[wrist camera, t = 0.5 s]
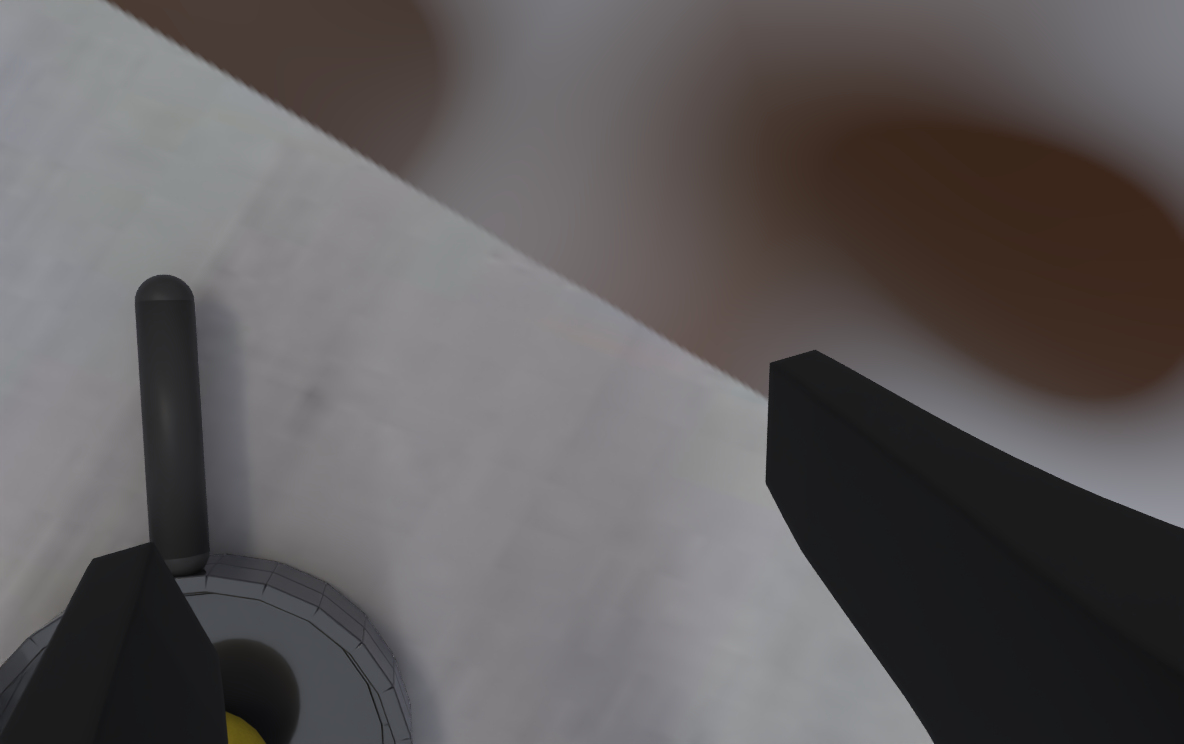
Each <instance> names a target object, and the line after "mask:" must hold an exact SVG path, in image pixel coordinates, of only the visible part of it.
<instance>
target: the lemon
mask: <svg viewBox="0 0 1184 744" xmlns="http://www.w3.org/2000/svg"><path fill="white" fill-rule="evenodd" d="M225 712H226V711H225ZM226 723H227V734H228V744H266V743H265V741H264V740H263V739H262V737H261V736H260V734H259V733H258V732H257V730H256V729H254V728H253V727H252V726H251V725H249V724H248V723H247V722H246V721H244V720H243V719H242V718H240V717H237V716H235V715H233V714H230V713H228V712H226Z"/></svg>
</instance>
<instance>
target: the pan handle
mask: <svg viewBox="0 0 1184 744" xmlns="http://www.w3.org/2000/svg"><path fill="white" fill-rule="evenodd" d="M135 313H136V329H137V345H138V361H139V377H140V393H141V409H142V425H143V441H144V457H145V473H146V489H147V505H148V521H149V537H150V542H154V544H155V546H156V547H157V549H158V551H159V553H160V554H161V556H162V558H163V559H164V561H165V563H166V565H167V566H168V568H169V570H170V572H171V573H172V575H173V576H181V575H187V574H192V573H196V572H199V571H201V570H203V569H204V567H205V566H206V564H207V562H208V559H209V554H210V548H209V531H208V515H207V499H206V482H205V466H204V450H203V433H202V417H201V400H200V384H199V368H198V351H197V335H196V319H195V302H194V296H193V293H192V291H191V289H190V288H189V286H188V285H187V284H186V283H185V282H184V281H182V280H181V279H179V278H177V277H175V276H171V275H157V276H153V277H151V278H149V279H147V280H146V281H144V282H143V283H142V284H141V286H140V287H139V288H138V290H137V292H136V296H135Z"/></svg>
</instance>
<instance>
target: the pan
mask: <svg viewBox="0 0 1184 744" xmlns="http://www.w3.org/2000/svg"><path fill="white" fill-rule="evenodd" d="M173 577H174V579H175V580H176V582H177V584H178V585H179V587H180V589H181V591H182V592H183V594H184V596H185V598H186V599H187V601H188V603H189V604H190V606H191V608H192V610H193V611H194V613H195V615H196V617H197V618H198V620H199V622H200V624H201V625H202V627H203V629H204V630H205V632H206V634H207V636H208V637H209V639H210V641H211V643H212V644H213V646H214V648H215V649H216V651H217V653H218V655H219V659H220V668H221V676H222V685H223V694H224V702H225V711H226V712H228V713H230V714H233V715H235V716H237V717H240V718H242V719H243V720H244V721H246V722H247V723H248V724H249V725H251V726H252V727H253V728H254V729H256V730H257V732H258V733H259V734H260V736H261V737H262V739H263V740H264V741H265V743H266V744H413V742H412V725H411V707H410V701H409V697H408V694H407V691H406V688H405V686H404V683H403V680H402V677H401V674H400V671H399V668H398V665H397V662H396V659H395V658H394V657H393V653H392V652H391V650H390V649H389V647H388V646H387V645H386V643H385V642H384V640H383V639H382V637H381V636H380V635H379V633H378V632H377V630H376V629H375V627H374V626H373V625H372V623H371V622H370V620H369V619H368V617H366V616H365V614H364V613H363V612H362V611H361V610H359V609H358V608H357V607H356V606H354V605H353V604H352V603H351V602H349V601H348V600H347V599H346V598H345V597H343V596H342V595H341V594H340V593H338V592H337V591H336V590H335V589H334V588H332V587H331V586H330V585H329V584H326V583H325V582H323V581H321V580H319V579H316V578H314V577H312V576H310V575H307V574H305V573H303V572H300V571H298V570H296V569H294V568H291V567H289V566H287V565H285V564H282V563H278V562H276V561H270V560H263V559H257V558H251V557H244V556H238V555H232V554H214V555H209V559H208V562H207V564H206V566H205V567H204V569H203V570H201V571H199V572H196V573H192V574H187V575H181V576H173ZM65 610H66V609H65ZM65 610H64V611H63V612H61V613H60V614H59V615H57V616H56V617H55V618H53V619H52V620H51V621H49V622H48V623H47V624H45V625H44V626H43V627H41V628H40V629H39V630H37V631H36V632H35V633H33V634H32V635H31V636H30V637H28V638H27V639H26V640H25V641H24V642H23V643H22V644H21V646H20V647H19V648H18V649H17V650H16V651H15V652H14V653H13V654H12V655H11V656H10V657H9V658H8V659H7V660H6V662H5V663H4V664H3V665H2V666H1V667H0V732H1V730H2V728H3V727H4V725H5V723H6V721H7V719H8V718H9V716H10V714H11V712H12V710H13V709H14V707H15V705H16V703H17V701H18V700H19V698H20V696H21V694H22V692H23V690H24V689H25V687H26V685H27V683H28V681H29V679H30V677H31V676H32V674H33V672H34V670H35V668H36V666H37V664H38V662H39V660H40V658H41V656H42V655H43V653H44V651H45V649H46V647H47V645H48V643H49V641H50V639H51V637H52V635H53V633H54V631H55V629H56V627H57V625H58V624H59V622H60V620H61V618H62V616H63V614H64V612H65Z"/></svg>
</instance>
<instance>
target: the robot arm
mask: <svg viewBox="0 0 1184 744" xmlns="http://www.w3.org/2000/svg"><path fill="white" fill-rule="evenodd" d="M766 485H767V487H768V488H769V490H770V492H771V494H772V496H773V498H774V500H775V502H776V504H777V506H778V508H779V510H780V512H781V514H782V516H783V518H784V520H785V522H786V523H787V525H788V527H789V529H790V531H791V533H792V534H793V536H794V538H795V540H796V542H797V543H798V545H799V547H800V549H801V551H802V552H803V554H804V555H805V557H806V558H807V560H808V561H809V562H810V564H811V565H812V567H813V568H814V570H815V571H816V573H817V574H818V575H819V577H820V578H821V580H822V581H823V583H824V584H825V585H826V587H827V588H828V590H829V591H830V593H831V594H832V595H833V597H834V598H835V600H836V601H837V603H838V604H839V605H840V607H841V608H842V610H843V611H844V612H845V614H846V615H847V617H848V618H849V619H850V621H851V622H852V624H853V625H854V626H855V628H856V629H857V631H858V632H859V633H860V635H861V636H862V638H863V639H864V640H865V642H866V643H867V645H868V646H869V647H870V649H871V650H872V652H873V653H874V654H875V656H876V657H877V659H878V660H879V661H880V663H881V664H882V666H883V667H884V668H885V670H886V671H887V673H888V674H889V675H890V677H891V678H892V680H893V681H894V682H895V684H896V685H897V687H898V688H899V689H900V691H901V692H902V694H903V695H904V696H905V698H906V700H907V701H908V703H909V704H910V706H911V707H912V709H913V710H914V712H915V713H916V715H917V716H918V718H919V719H920V721H921V722H922V724H923V726H924V727H925V729H926V730H927V732H928V734H929V735H930V737H931V739H932V741H933V742H934V744H1184V529H1183V528H1180V527H1177V526H1174V525H1172V524H1169V523H1167V522H1164V521H1162V520H1159V519H1156V518H1154V517H1151V516H1149V515H1146V514H1143V513H1141V512H1139V511H1136V510H1134V509H1131V508H1129V507H1126V506H1124V505H1121V504H1119V503H1116V502H1113V501H1111V500H1108V499H1106V498H1103V497H1101V496H1098V495H1096V494H1094V493H1092V492H1089V491H1087V490H1085V489H1082V488H1080V487H1078V486H1075V485H1073V484H1071V483H1069V482H1066V481H1064V480H1062V479H1060V478H1058V477H1056V476H1054V475H1052V474H1049V473H1047V472H1045V471H1043V470H1041V469H1039V468H1037V467H1034V466H1032V465H1030V464H1028V463H1026V462H1024V461H1022V460H1019V459H1017V458H1015V457H1013V456H1011V455H1009V454H1007V453H1005V452H1003V451H1001V450H999V449H997V448H995V447H993V446H991V445H989V444H987V443H985V442H983V441H981V440H979V439H978V438H976V437H974V436H972V435H970V434H968V433H966V432H964V431H962V430H960V429H958V428H957V427H955V426H953V425H951V424H949V423H947V422H945V421H943V420H941V419H940V418H938V417H936V416H934V415H932V414H930V413H929V412H927V411H925V410H923V409H921V408H920V407H918V406H916V405H914V404H912V403H910V402H909V401H907V400H905V399H903V398H902V397H900V396H898V395H896V394H895V393H893V392H891V391H889V390H887V389H886V388H884V387H882V386H880V385H878V384H877V383H875V382H873V381H871V380H870V379H868V378H866V377H864V376H862V375H861V374H859V373H857V372H855V371H854V370H852V369H850V368H848V367H846V366H845V365H843V364H841V363H839V362H837V361H835V360H834V359H832V358H830V357H828V356H826V355H824V354H822V353H820V352H819V351H816V350H813V351H809V352H806V353H803V354H799V355H796V356H792V357H789V358H785V359H782V360H778V361H775V362H772V363H770V373H769V401H768V428H767V456H766ZM0 744H228V734H227V723H226V712H225V702H224V694H223V685H222V676H221V668H220V659H219V655H218V653H217V651H216V649H215V648H214V646H213V644H212V643H211V641H210V639H209V637H208V636H207V634H206V632H205V630H204V629H203V627H202V625H201V624H200V622H199V620H198V618H197V617H196V615H195V613H194V611H193V610H192V608H191V606H190V604H189V603H188V601H187V599H186V598H185V596H184V594H183V592H182V591H181V589H180V587H179V585H178V584H177V582H176V580H175V579H174V577H173V575H172V573H171V572H170V570H169V568H168V566H167V565H166V563H165V561H164V559H163V558H162V556H161V554H160V553H159V551H158V549H157V547H156V546H155V544H154V542H149V543H146V544H142V545H139V546H136V547H132V548H129V549H125V550H122V551H118V552H115V553H111V554H108V555H104V556H101V557H97V558H94V559H93V560H92V561H91V563H90V564H89V566H88V568H87V569H86V571H85V573H84V575H83V577H82V579H81V581H80V583H79V584H78V586H77V588H76V590H75V592H74V594H73V596H72V598H71V600H70V602H69V604H68V606H67V608H66V610H65V612H64V614H63V616H62V618H61V620H60V622H59V624H58V625H57V627H56V629H55V631H54V633H53V635H52V637H51V639H50V641H49V643H48V645H47V647H46V649H45V651H44V653H43V655H42V656H41V658H40V660H39V662H38V664H37V666H36V668H35V670H34V672H33V674H32V676H31V677H30V679H29V681H28V683H27V685H26V687H25V689H24V690H23V692H22V694H21V696H20V698H19V700H18V701H17V703H16V705H15V707H14V709H13V710H12V712H11V714H10V716H9V718H8V719H7V721H6V723H5V725H4V727H3V728H2V730H1V732H0Z"/></svg>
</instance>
